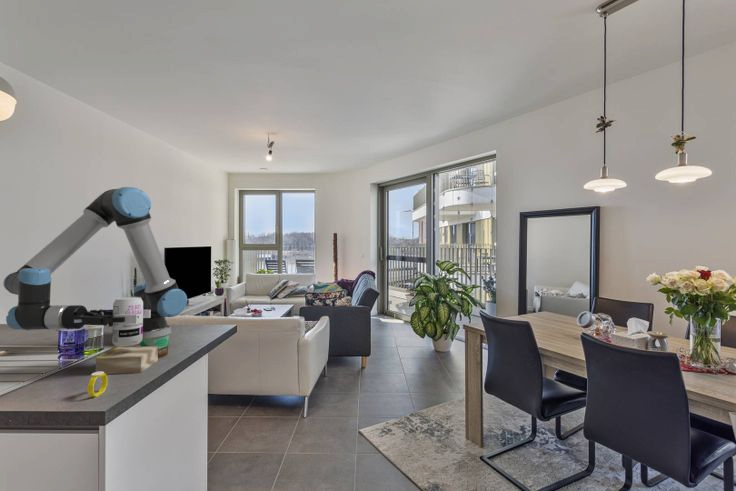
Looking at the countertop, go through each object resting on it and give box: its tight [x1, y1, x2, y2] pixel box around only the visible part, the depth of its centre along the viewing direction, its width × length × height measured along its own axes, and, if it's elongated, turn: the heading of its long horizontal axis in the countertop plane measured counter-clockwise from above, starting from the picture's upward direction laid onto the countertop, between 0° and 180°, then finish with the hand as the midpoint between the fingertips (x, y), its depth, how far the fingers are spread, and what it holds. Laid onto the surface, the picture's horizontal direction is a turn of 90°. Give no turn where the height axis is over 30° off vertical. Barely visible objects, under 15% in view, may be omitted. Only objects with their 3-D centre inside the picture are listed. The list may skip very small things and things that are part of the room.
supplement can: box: [111, 296, 143, 347], centre depth 117 cm, size 8×8×15 cm
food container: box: [139, 324, 172, 359], centre depth 129 cm, size 12×6×10 cm, turn 168°
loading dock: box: [95, 346, 159, 375], centre depth 117 cm, size 12×13×5 cm
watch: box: [87, 371, 109, 398], centre depth 96 cm, size 6×3×6 cm, turn 4°
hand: (143, 316), depth 118 cm, fingers closed on supplement can, 8 cm apart
